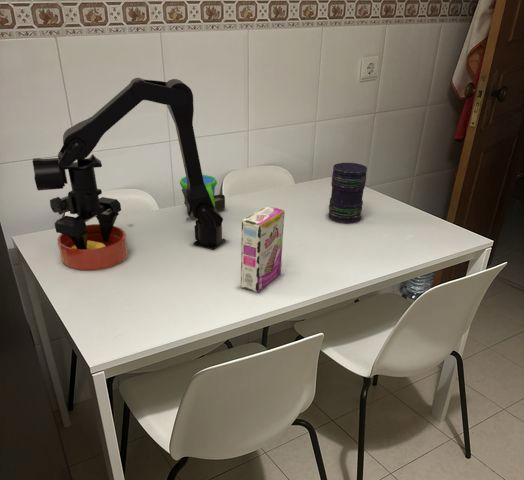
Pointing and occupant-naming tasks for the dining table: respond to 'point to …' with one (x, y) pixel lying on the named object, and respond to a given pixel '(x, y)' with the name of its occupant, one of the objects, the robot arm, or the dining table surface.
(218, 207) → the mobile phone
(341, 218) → the storage jar
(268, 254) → the candy bar box
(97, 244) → the banana
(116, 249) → the bowl
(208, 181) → the snack cup
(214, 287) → the dining table surface
